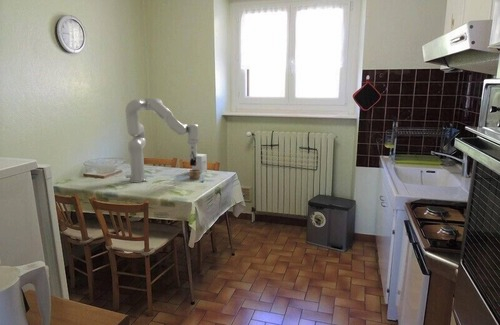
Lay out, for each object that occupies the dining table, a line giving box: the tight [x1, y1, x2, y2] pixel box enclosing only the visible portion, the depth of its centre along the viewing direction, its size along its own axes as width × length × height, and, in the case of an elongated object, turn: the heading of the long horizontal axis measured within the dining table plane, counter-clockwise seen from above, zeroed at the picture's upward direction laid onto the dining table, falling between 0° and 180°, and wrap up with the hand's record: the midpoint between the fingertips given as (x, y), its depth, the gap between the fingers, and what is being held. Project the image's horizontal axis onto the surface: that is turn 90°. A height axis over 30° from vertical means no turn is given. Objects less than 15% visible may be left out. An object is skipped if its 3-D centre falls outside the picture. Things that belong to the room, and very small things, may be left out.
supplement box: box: [191, 153, 208, 174], centre depth 281 cm, size 9×9×15 cm
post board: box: [172, 174, 206, 183], centre depth 263 cm, size 22×18×6 cm
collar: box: [188, 169, 201, 180], centre depth 261 cm, size 7×7×6 cm
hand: (193, 164), depth 260 cm, fingers open, 9 cm apart
